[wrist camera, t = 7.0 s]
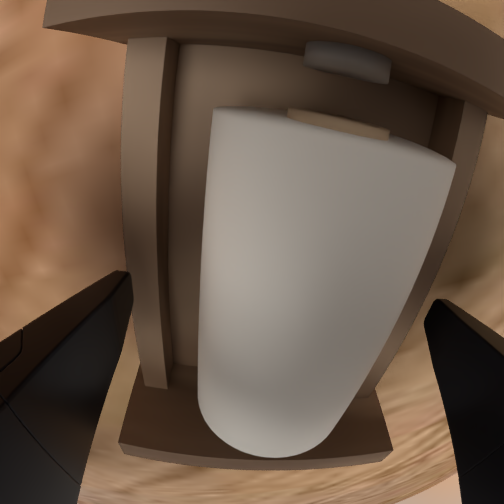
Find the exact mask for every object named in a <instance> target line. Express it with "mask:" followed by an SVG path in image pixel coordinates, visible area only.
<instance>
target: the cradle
mask: <svg viewBox="0 0 504 504" xmlns="http://www.w3.org/2000/svg"><path fill="white" fill-rule="evenodd" d="M43 28H48V29H54V30H61V31H67V32H72V33H78V34H83V35H88V36H93V37H97V38H102V39H106V40H111V41H115V42H119V43H123V44H127V53H126V62H125V73H124V86H123V101H122V124H121V193H122V216H123V232H124V245H125V257H126V267H127V272H129V273H130V274H131V277H132V286H133V295H134V302H133V307H132V316H133V323H134V329H135V335H136V341H137V347H138V353H139V358H140V366H139V369H138V372H137V376H136V379H135V382H134V386H133V389H132V393H131V396H130V400H129V404H128V407H127V411H126V414H125V418H124V422H123V426H122V430H121V433H120V437H119V441H118V443H119V445H120V447H121V449H122V451H123V452H124V454H127V455H131V456H136V457H141V458H146V459H151V460H157V461H163V462H169V463H176V464H183V465H191V466H200V467H210V468H222V469H238V470H306V469H322V468H334V467H344V466H353V465H361V464H368V463H374V462H381V461H382V460H383V459H385V458H386V457H387V456H388V455H389V454H390V453H391V452H392V451H393V447H392V444H391V440H390V437H389V433H388V430H387V426H386V423H385V420H384V416H383V413H382V410H381V406H380V403H379V400H378V397H377V394H376V390H375V387H376V385H377V384H378V382H379V381H380V379H381V377H382V376H383V374H384V373H385V371H386V369H387V368H388V366H389V364H390V363H391V361H392V359H393V358H394V356H395V354H396V353H397V351H398V349H399V347H400V346H401V344H402V342H403V340H404V339H405V337H406V335H407V333H408V331H409V329H410V328H411V326H412V324H413V322H414V320H415V318H416V316H417V314H418V312H419V310H420V308H421V306H422V304H423V302H424V300H425V298H426V296H427V294H428V292H429V290H430V288H431V285H432V283H433V281H434V279H435V277H436V274H437V272H438V270H439V268H440V265H441V263H442V260H443V258H444V256H445V253H446V251H447V248H448V246H449V243H450V241H451V238H452V236H453V233H454V230H455V228H456V225H457V222H458V219H459V217H460V214H461V211H462V208H463V205H464V202H465V199H466V196H467V193H468V189H469V186H470V183H471V180H472V176H473V173H474V169H475V165H476V162H477V158H478V154H479V150H480V146H481V142H482V137H483V133H484V128H485V124H486V119H487V114H488V115H492V116H495V117H498V118H502V119H504V39H503V38H501V37H500V36H498V35H497V34H495V33H494V32H492V31H491V30H489V29H488V28H486V27H485V26H483V25H481V24H480V23H478V22H476V21H475V20H473V19H471V18H470V17H468V16H466V15H464V14H463V13H461V12H459V11H457V10H455V9H454V8H452V7H450V6H448V5H446V4H444V3H442V2H440V1H438V0H47V4H46V9H45V15H44V21H43ZM223 106H249V107H263V108H273V109H281V110H288V107H295V108H304V109H310V110H316V111H322V112H327V113H332V114H336V115H341V116H345V117H349V118H353V119H357V120H360V121H364V122H367V123H371V124H374V125H377V126H380V127H383V128H386V129H388V130H390V134H392V135H395V136H398V137H400V138H403V139H406V140H409V141H411V142H414V143H416V144H419V145H421V146H424V147H426V148H428V149H430V150H433V151H435V152H437V153H439V154H441V155H443V156H445V157H446V158H448V159H450V160H451V161H453V162H454V163H455V164H456V169H455V173H454V176H453V180H452V183H451V186H450V190H449V193H448V196H447V199H446V202H445V205H444V208H443V211H442V214H441V217H440V220H439V223H438V226H437V228H436V231H435V234H434V237H433V239H432V242H431V245H430V247H429V250H428V252H427V255H426V257H425V260H424V262H423V265H422V267H421V269H420V272H419V274H418V276H417V279H416V281H415V283H414V286H413V288H412V290H411V292H410V294H409V297H408V299H407V301H406V303H405V305H404V307H403V309H402V311H401V314H400V316H399V318H398V320H397V322H396V324H395V326H394V328H393V330H392V332H391V333H390V335H389V337H388V339H387V341H386V343H385V345H384V347H383V349H382V350H381V352H380V354H379V356H378V358H377V359H376V361H375V363H374V365H373V366H372V368H371V370H370V372H369V373H368V375H367V377H366V378H365V380H364V382H363V383H362V385H361V387H360V388H359V390H358V392H357V393H356V395H355V396H354V398H353V400H352V401H351V403H350V404H349V406H348V407H347V409H346V410H345V412H344V414H343V415H342V417H341V418H340V420H339V421H338V422H337V424H336V425H335V427H334V428H333V430H332V431H331V432H330V434H329V435H328V436H327V437H326V438H325V439H324V440H323V441H322V442H321V443H320V444H318V445H317V446H315V447H314V448H312V449H310V450H308V451H306V452H303V453H301V454H298V455H294V456H289V457H280V458H269V457H261V456H255V455H251V454H248V453H245V452H242V451H240V450H238V449H236V448H234V447H232V446H230V445H229V444H227V443H226V442H224V441H223V440H222V439H221V438H219V437H218V436H217V435H216V434H215V433H214V432H213V431H212V430H211V429H210V427H209V426H208V424H207V423H206V421H205V420H204V418H203V415H202V413H201V410H200V407H199V403H198V331H199V298H200V274H201V254H202V237H203V221H204V206H205V192H206V180H207V168H208V156H209V146H210V135H211V125H212V116H213V109H214V108H216V107H223Z"/></svg>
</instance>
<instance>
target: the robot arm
mask: <svg viewBox="0 0 504 504" xmlns="http://www.w3.org/2000/svg"><path fill="white" fill-rule="evenodd" d="M133 302H134V295H133V286H132V277H131V274H130V273H129V272H126V271H119V270H116V271H114V272H112V273H110V274H109V275H107V276H105V277H104V278H102V279H100V280H98V281H97V282H95V283H93V284H92V285H90V286H88V287H87V288H85V289H83V290H82V291H80V292H79V293H77V294H75V295H74V296H72V297H70V298H69V299H67V300H65V301H64V302H62V303H61V304H59V305H57V306H56V307H54V308H53V309H51V310H49V311H48V312H46V313H45V314H43V315H41V316H40V317H38V318H37V319H35V320H34V321H32V322H31V323H29V324H27V325H26V326H24V327H23V330H22V329H20V330H18V331H17V332H15V333H14V334H12V335H10V336H9V337H7V338H6V339H4V340H3V341H1V342H0V504H77V501H78V496H79V492H80V488H81V486H80V485H81V483H82V479H83V475H84V471H85V467H86V463H87V459H88V456H89V452H90V448H91V445H92V441H93V438H94V434H95V431H96V428H97V424H98V421H99V418H100V414H101V411H102V408H103V405H104V402H105V399H106V395H107V392H108V389H109V386H110V383H111V380H112V378H113V375H114V372H115V369H116V366H117V363H118V360H119V357H120V354H121V351H122V347H123V344H124V339H125V335H126V331H127V327H128V323H129V319H130V315H131V311H132V307H133ZM424 328H425V333H426V337H427V341H428V346H429V350H430V355H431V360H432V364H433V368H434V372H435V375H436V379H437V382H438V386H439V389H440V393H441V397H442V401H443V405H444V409H445V413H446V417H447V421H448V425H449V430H450V434H451V439H452V444H453V449H454V454H455V459H456V465H457V471H458V477H459V485H460V493H461V500H462V504H504V338H503V337H502V336H500V335H499V334H497V333H496V332H495V331H493V330H492V329H490V328H489V327H487V326H486V325H485V324H483V323H482V322H480V321H479V320H477V319H476V318H474V317H473V316H471V315H470V314H468V313H467V312H465V311H464V310H462V309H461V308H459V307H458V306H456V305H455V304H453V303H452V302H450V301H449V300H447V299H436V300H435V301H434V302H433V304H432V306H431V308H430V310H429V311H428V313H427V315H426V317H425V320H424Z"/></svg>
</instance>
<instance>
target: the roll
mask: <svg viewBox="0 0 504 504" xmlns="http://www.w3.org/2000/svg"><path fill="white" fill-rule="evenodd" d="M455 169H456V164H455V163H454V162H453V161H451V160H450V159H448V158H446V157H445V156H443V155H441V154H439V153H437V152H435V151H433V150H430V149H428V148H426V147H424V146H421V145H419V144H416V143H414V142H411V141H409V140H406V139H403V138H400V137H398V136H395V135H392V134H390V130H388V129H386V128H383V127H380V126H377V125H374V124H371V123H367V122H364V121H360V120H357V119H353V118H349V117H345V116H341V115H336V114H332V113H327V112H322V111H316V110H310V109H304V108H295V107H288V110H281V109H273V108H263V107H249V106H223V107H216V108H214V109H213V116H212V125H211V135H210V146H209V156H208V168H207V180H206V192H205V206H204V221H203V237H202V254H201V274H200V298H199V331H198V403H199V407H200V410H201V413H202V415H203V418H204V420H205V421H206V423H207V424H208V426H209V427H210V429H211V430H212V431H213V432H214V433H215V434H216V435H217V436H218V437H219V438H221V439H222V440H223V441H224V442H226V443H227V444H229V445H230V446H232V447H234V448H236V449H238V450H240V451H242V452H245V453H248V454H251V455H255V456H261V457H269V458H280V457H289V456H294V455H298V454H301V453H303V452H306V451H308V450H310V449H312V448H314V447H315V446H317V445H318V444H320V443H321V442H322V441H323V440H324V439H325V438H326V437H327V436H328V435H329V434H330V432H331V431H332V430H333V428H334V427H335V425H336V424H337V422H338V421H339V420H340V418H341V417H342V415H343V414H344V412H345V410H346V409H347V407H348V406H349V404H350V403H351V401H352V400H353V398H354V396H355V395H356V393H357V392H358V390H359V388H360V387H361V385H362V383H363V382H364V380H365V378H366V377H367V375H368V373H369V372H370V370H371V368H372V366H373V365H374V363H375V361H376V359H377V358H378V356H379V354H380V352H381V350H382V349H383V347H384V345H385V343H386V341H387V339H388V337H389V335H390V333H391V332H392V330H393V328H394V326H395V324H396V322H397V320H398V318H399V316H400V314H401V311H402V309H403V307H404V305H405V303H406V301H407V299H408V297H409V294H410V292H411V290H412V288H413V286H414V283H415V281H416V279H417V276H418V274H419V272H420V269H421V267H422V265H423V262H424V260H425V257H426V255H427V252H428V250H429V247H430V245H431V242H432V239H433V237H434V234H435V231H436V228H437V226H438V223H439V220H440V217H441V214H442V211H443V208H444V205H445V202H446V199H447V196H448V193H449V190H450V186H451V183H452V180H453V176H454V173H455Z"/></svg>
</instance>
